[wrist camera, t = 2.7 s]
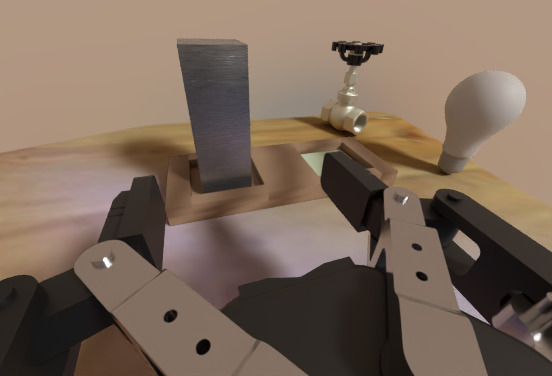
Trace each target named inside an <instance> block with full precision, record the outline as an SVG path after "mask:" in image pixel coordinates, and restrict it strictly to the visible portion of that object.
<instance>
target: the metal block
mask: <svg viewBox="0 0 552 376" xmlns="http://www.w3.org/2000/svg"><path fill="white" fill-rule="evenodd" d="M177 48H178V53H179V59H180V65H181V71H182V76H183V82H184V87H185V92H186V99H187V104H188V109H189V115H190V121H191V127H192V132H193V138H194V144H195V149H196V155H197V161H198V166H199V172H200V177H201V183H202V189H203V194H206V193H213V192H219V191H226V190H232V189H239V188H245V187H252V175H251V143H250V113H249V112H250V111H249V80H248V48H247V44H245V43H242V42H240V41H238V40H236V39H177Z"/></svg>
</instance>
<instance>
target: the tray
mask: <svg viewBox="0 0 552 376" xmlns="http://www.w3.org/2000/svg"><path fill="white" fill-rule="evenodd" d="M336 151H341V152H343V153H344V154H345V155H346V156H348V157H349V158H350V159H352V160H354V161H356V162H358V163H360V164H362V165H363V166H364V167H365V168H366V170H369V171H370V172H371V173H372V174H374V175H375V176H376V177H377V178H379V179H380V180H381V181H382V182H384V183H385V184H386V185H387V186H391V185H393V183H394V180H395V178H396V175H397V173H398V170H396V169H395V168H393V167H392V166H391V165H389V164H388V163H387V162H385V161H384V160H382V159H381V158H380V157H378V156H377V155H375V154H374V153H373V152H371V151H370V150H368V149H367V148H366V147H364V146H363V145H362V144H360V143H359V142H357V141H356V140H355V139H353V138H352V137H343V138H334V139H325V140H316V141H307V142H298V143H289V144H280V145H271V146H262V147H253V148H251V175H252V187H245V188H239V189H232V190H226V191H219V192H213V193H206V194H203V189H202V183H201V177H200V172H199V166H198V161H197V155H196V154H189V155H180V156H171V157H169V162H168V175H167V189H166V202H165V211H166V214H167V218H168V221H169V224H170V226H172V225H178V224H183V223H189V222H194V221H200V220H205V219H210V218H216V217H221V216H227V215H232V214H238V213H243V212H249V211H254V210H260V209H265V208H271V207H276V206H281V205H287V204H292V203H298V202H303V201H309V200H314V199H320V198H325V197H328V196H327V194H326V193H325V192H324V191H323V189H322V187H321V183H320V178H321V172H322V165H323V159H324V155H325V154H326V153H328V152H336Z"/></svg>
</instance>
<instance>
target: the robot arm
mask: <svg viewBox="0 0 552 376" xmlns="http://www.w3.org/2000/svg"><path fill="white" fill-rule="evenodd" d="M320 183H321V187H322V189H323V191H324V192H325V193H326V194H327V196H328V197H329V198H330V199H331V201H332V202H333V203H334V204H335V205H336V207H337V208H338V209H339V210H340V211H341V213H342V214H343V215H344V216H345V218H346V219H347V220H348V221H349V222H350V224H351V225H352V226H353V227H354V229H355V230H356V231H357V232H362V231H366V230H368V231H369V232H370V233H369V236H368V248H367V266H364V265H355V264H354V262H353V261H352V260H351V258H350V257H346V258H342V259H338V260H334V261H331V262H327V263H324V264H322V265H321V266H319V267H317V268H315V269H314V270H312V271H310V272H309V273H307V274H305V275H303V276H301V277H292V278H267V279H263V280H260V281H256V282H252V283H249V284H245V285H241V286H238V290H239V296H238V297H237V298H235V299H233V300H232V301H231V302H229V303H228V304H226V305H225V306H224V307H223V308H222V309H221V310H220V311H219V310H218V309H216V308H215V307H214V306H213V305H211V304H210V303H209V302H208V301H207V300H205V299H204V298H203V297H202V296H200V295H199V294H198V293H197V292H195V291H194V290H193V289H192V288H190V287H189V286H188V285H187V284H185V283H184V282H183V281H182V280H181V279H179V278H178V277H177V276H176V275H174V274H173V273H172V272H170V271H169V270H167V269H164V270H163V271H162V262H163V248H164V234H165V220H166V213H165V207H164V203H163V200H162V197H161V193H160V190H159V187H158V184H157V181H156V178H155V176H154V175H151V176H144V177H136V178H134V179H133V182H132V186H131V189H130V190H129V191H122V192H121V193H120V194H119V195H118V196H117V197H116V198H115V199H114V200H113V202H112V205H111V208H110V211H109V213H108V216H107V217H108V218H107V219H106V221H105V224H104V227H103V229H102V232H101V235H100V238H99V240H98V243H97V244H96V245H94V246H92V247H91V248H89V249H87V250H86V251H85V252H84V253H82V254H81V255H80V257H79V258H78V259H77V261H76V262H75V265H74V268H72V269H71V270H68V271H66V272H64V273H61V274H59V275H57V276H54V277H52V278H49V279H47V280H45V281H42V282H40V283H39V282H38V281H37V280H36V279H35V278H34V277H32V276H29V275H18V276H13V277H10V278H7V279H4V280H1V281H0V376H73V375H74V370H75V366H76V362H77V358H78V354H79V350H80V346H81V342H82V341H83V340H85V339H87V338H89V337H91V336H92V335H94V334H96V333H98V332H100V331H101V330H103V329H105V328H107V327H109V326H111V325H112V324H113V325H114V326H115V327H116V328H117V329H118V331H119V332H120V333H121V334H122V335H123V336H124V338H125V339H126V340H127V341H128V342H129V344H130V345H131V346H132V347H133V348H134V349H135V351H136V352H137V353H138V354H139V355H140V356H141V358H142V359H143V360H144V361H145V363H146V364H147V365H148V366H149V368H150V369H151V370H152V371H153V373H154V374H155V375H156V376H552V252H551V251H549V250H548V249H546V248H545V247H543V246H542V245H540V244H539V243H537V242H536V241H534V240H533V239H531V238H530V237H528V236H527V235H525V234H524V233H522V232H521V231H519V230H518V229H516V228H515V227H513V226H512V225H510V224H509V223H507V222H506V221H504V220H503V219H501V218H500V217H498V216H497V215H495V214H494V213H492V212H491V211H489V210H488V209H486V208H485V207H483V206H482V205H480V204H479V203H477V202H476V201H474V200H473V199H471V198H470V197H468V196H467V195H465V194H463V193H461V192H458V191H455V190H451V189H439V190H437V191H436V193H435V195H434V197H433V199H423V198H419V197H418V196H417V195H416V194H415V193H413V192H412V191H410V190H407V189H405V188H401V187H388V186H387V185H386V184H385V183H384V182H382V181H381V180H380V179H379V178H377V177H376V176H375V175H374V174H372V173H371V172H370V171H369V170H366V168H365V167H364V166H363V165H362V164H360V163H358V162H356V161H354V160H352V159H350V158H349V157H348V156H346V155H345V154H344V153H343V152H341V151H336V152H328V153H326V154H325V155H324V159H323V165H322V172H321V178H320ZM459 230H461V231H462V232H463V233H464V234H465V235H467V236H468V237H469V238H470V239H472V240H473V241H474V242H475V243H476V244H477V245H478V246H479V248H480V256H479V258H478V259H477V260H476V261H475V260H474V259H473V258H472V257H471V256H469V255H468V254H467V253H466V252H465V251H464V250H463V249H461V248H460V247H459V246H458V245H457V244H456V243H455V242H454V241H452V240H453V238H454V237H455V235H456V234H457V232H458V231H459ZM452 284H453V286H454V287H455V288H456V289H457V290H458V291H459V292H460V293H461V294H462V295H463V296H464V297H465V298H466V299H467V300H468V301H469V302H470V303H471V305H472V306H473V307H474V308H475V309H476V310H477V311H478V312H479V313H480V314H481V315H482V316H483V317H484V318H485V319H486V320H487V321H488V323H489V324H490V325H489V324H487V323H485V322H483V321H481V320H479V319H477V318H475V317H473V316H471V315H469V314H467V313H465V312H463V311H461V310H460V309H459V307H458V304H457V300H456V296H455V293H454V289H453V286H452Z"/></svg>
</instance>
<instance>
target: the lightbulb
mask: <svg viewBox="0 0 552 376" xmlns="http://www.w3.org/2000/svg"><path fill="white" fill-rule="evenodd" d="M525 100H526V92H525V88H524V86H523V84H522V83H521V81H519V79H518V78H516V77H515V76H514V75H512V74H509V73H506V72H503V71H485V72H481V73H477V74H475V75H472V76H470V77H468V78H466V79H465V80H463V81H462V82H460V83H459V84H458V85H457V86H456V87H455V88H454V89H453V90H452V91H451V93H450V94H449V96H448V98H447V100H446V104H445V119H446V125H447V132H446V138H445V141H444V144H443V147H442V149H443V152H442V154H441V156H440V159H439V162H438V166H439V167H440V168H441V169H442V171H443V172H445V173H447V174H452V173H459V172H461V171H462V170H463V169H464V167H465V166H466V164H467V162H468V161H469V159H470V158H471V157H473V156H474V155H475V154H476V152H477V151H478V149H479V148H480V147H481V146H482V145H483V144H484V143H485V142H486V141H487V140H488V139H489V138H490V137H492V136H493V135H495V134H496V133H498V132H499V131H501V130H502V129H504V128H505V127H506V126H508V125H509V124H511V123H512V122H513V121H514V120H515V119H516V118H517V117H518V116H519V115H520V113H521V112H522V110H523V107H524V105H525Z"/></svg>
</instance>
